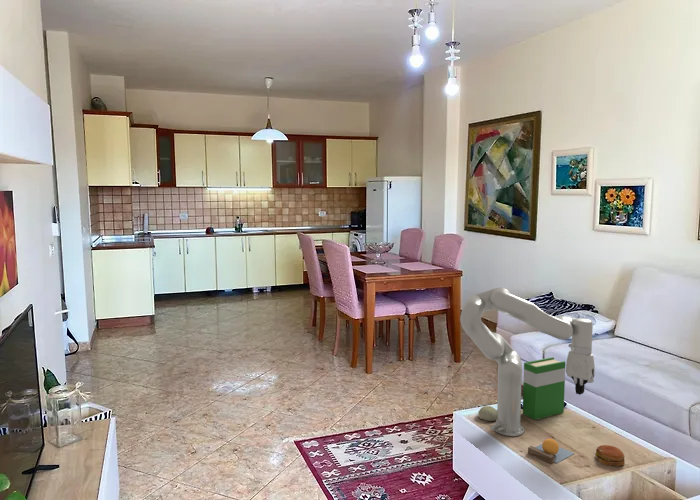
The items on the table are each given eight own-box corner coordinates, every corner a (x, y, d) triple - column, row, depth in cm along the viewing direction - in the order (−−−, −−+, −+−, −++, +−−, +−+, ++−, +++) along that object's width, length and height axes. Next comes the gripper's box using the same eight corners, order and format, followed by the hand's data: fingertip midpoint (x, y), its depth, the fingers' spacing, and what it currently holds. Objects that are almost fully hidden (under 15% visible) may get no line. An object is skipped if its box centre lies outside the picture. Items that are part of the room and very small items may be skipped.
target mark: (556, 463, 190) (556, 463, 190) (528, 450, 200) (528, 450, 200) (574, 453, 197) (574, 453, 197) (546, 442, 207) (546, 441, 207)
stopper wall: (551, 464, 190) (551, 457, 190) (527, 453, 198) (528, 447, 198) (554, 462, 191) (554, 456, 191) (530, 451, 199) (531, 445, 199)
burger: (630, 464, 190) (630, 452, 189) (610, 469, 186) (611, 457, 186) (608, 452, 199) (608, 440, 198) (589, 456, 196) (590, 445, 195)
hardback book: (551, 406, 242) (552, 357, 239) (563, 412, 235) (565, 361, 233) (522, 413, 234) (524, 362, 232) (534, 419, 228) (536, 367, 225)
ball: (560, 456, 197) (552, 459, 193) (546, 449, 201) (538, 452, 197) (563, 441, 196) (555, 444, 192) (548, 434, 201) (540, 437, 197)
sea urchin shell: (496, 409, 235) (499, 402, 229) (498, 426, 230) (501, 419, 224) (476, 408, 236) (478, 401, 230) (478, 425, 231) (480, 418, 225)
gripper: (558, 346, 210) (557, 390, 212) (594, 355, 198) (592, 401, 200) (569, 343, 214) (567, 386, 216) (604, 352, 202) (602, 396, 204)
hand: (579, 393), depth 208 cm, fingers closed
